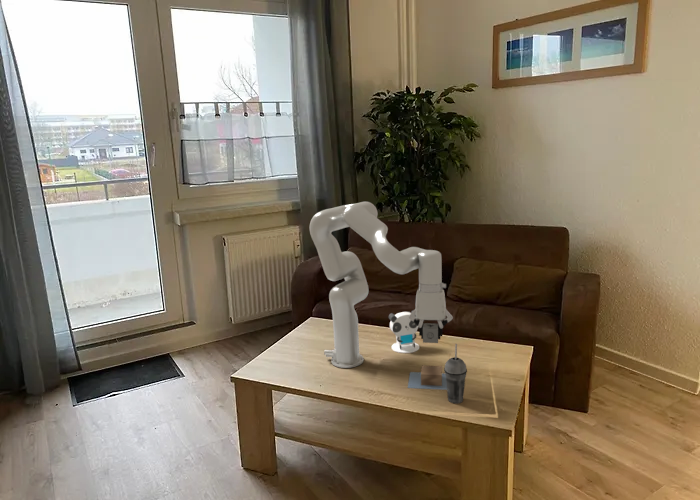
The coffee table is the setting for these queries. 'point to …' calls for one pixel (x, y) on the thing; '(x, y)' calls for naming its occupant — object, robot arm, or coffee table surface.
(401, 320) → the panda figurine
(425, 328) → the grey symbol cube
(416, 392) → the coffee table surface
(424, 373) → the light brown plinth
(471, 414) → the coffee table surface
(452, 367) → the beverage cup
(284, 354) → the coffee table surface
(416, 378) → the blue board
